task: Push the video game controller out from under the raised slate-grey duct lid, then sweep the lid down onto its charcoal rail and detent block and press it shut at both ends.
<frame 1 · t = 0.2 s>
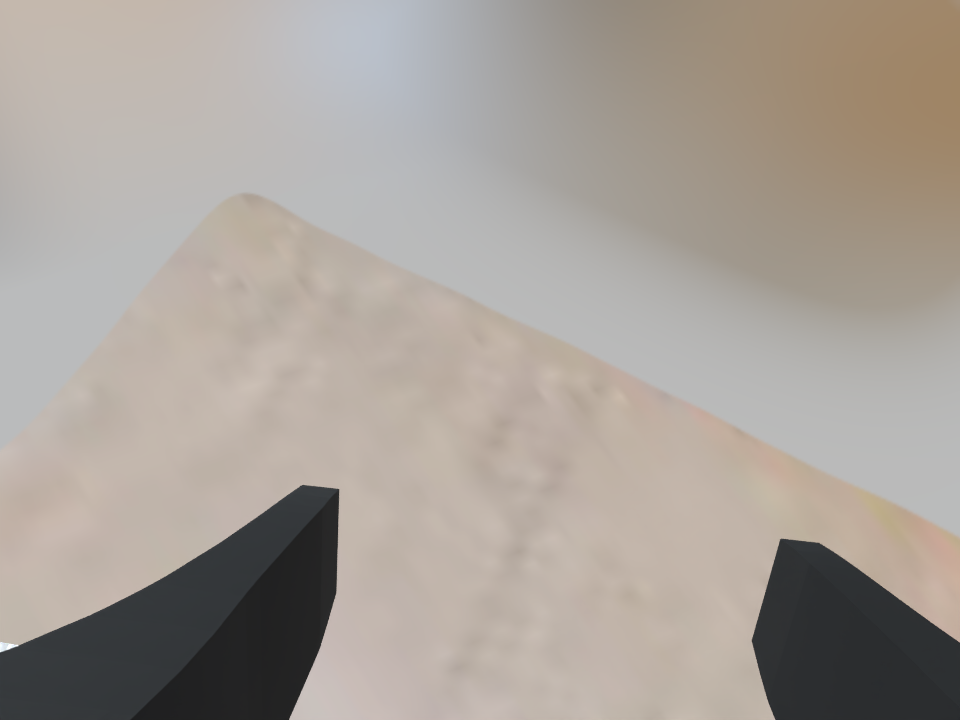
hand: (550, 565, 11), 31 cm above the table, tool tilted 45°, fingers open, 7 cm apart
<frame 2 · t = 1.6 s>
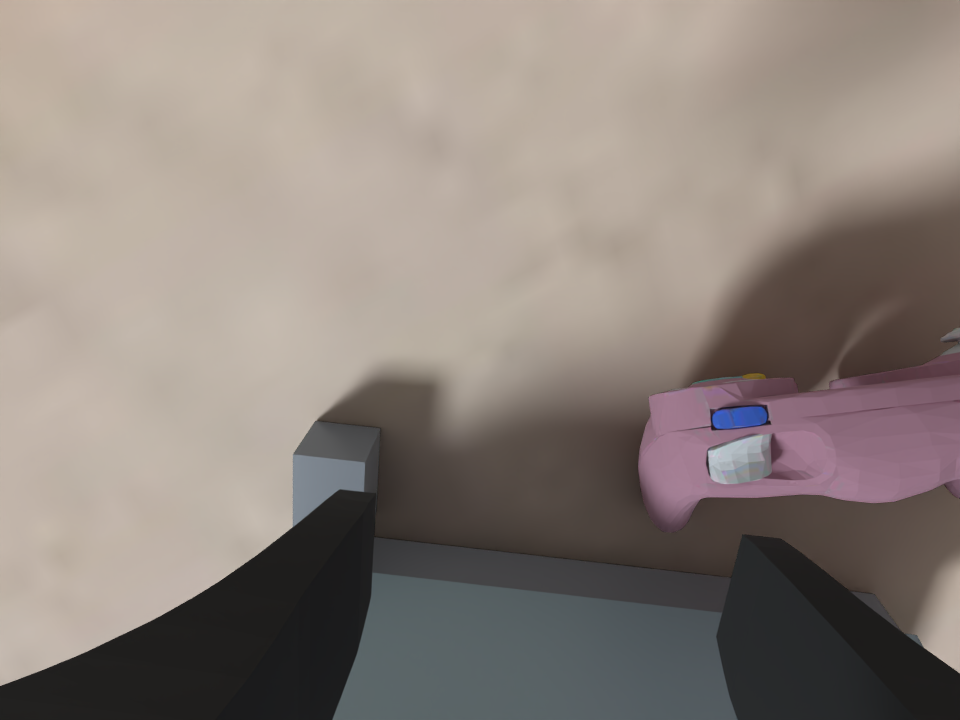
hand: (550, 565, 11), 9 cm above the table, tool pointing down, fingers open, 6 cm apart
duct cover: (607, 703, 18), point 5 cm above the table, hinge at 100.0°
video game controller: (795, 402, 20), on the table
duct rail: (582, 612, 23), on the table
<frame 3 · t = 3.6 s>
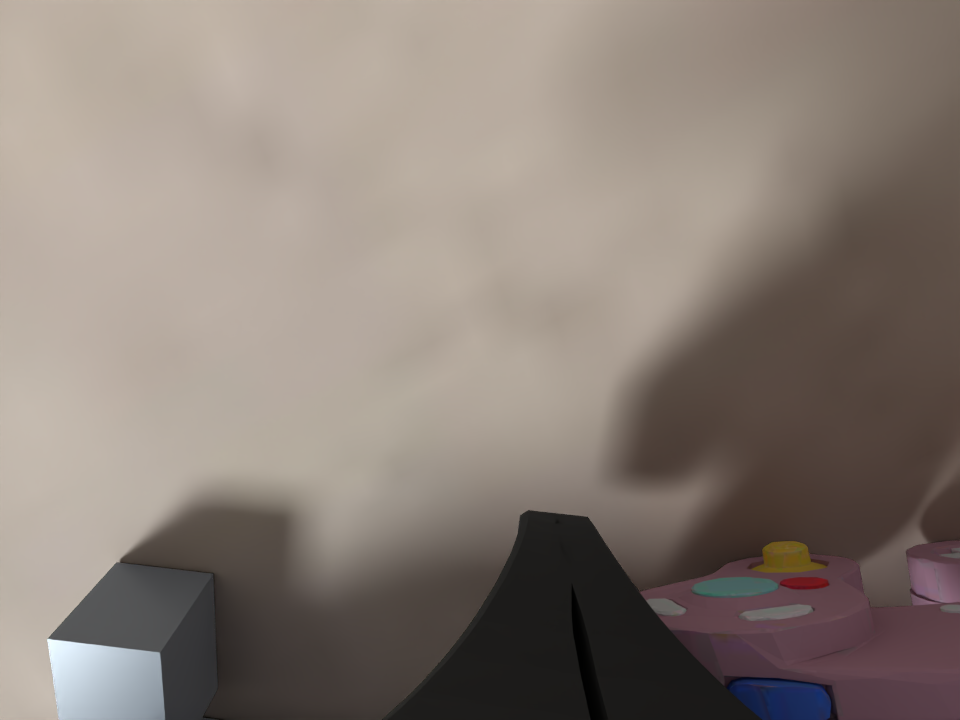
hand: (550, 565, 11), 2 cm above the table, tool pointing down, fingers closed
video game controller: (848, 569, 14), on the table, touching gripper
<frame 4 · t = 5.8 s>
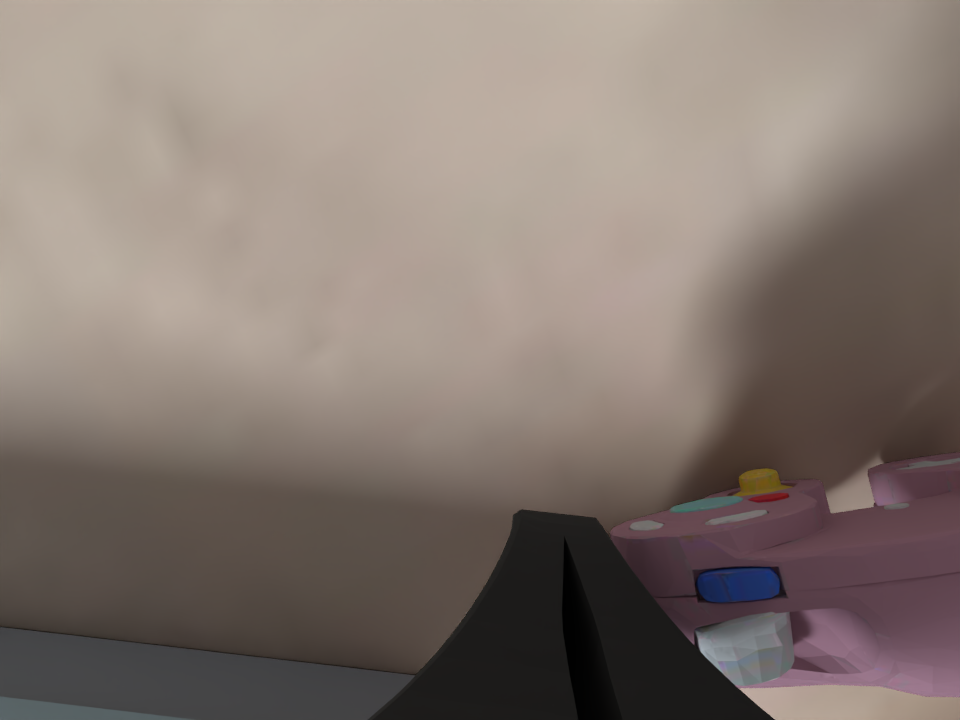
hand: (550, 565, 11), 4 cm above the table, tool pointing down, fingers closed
video game controller: (822, 493, 15), on the table
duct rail: (76, 696, 18), on the table
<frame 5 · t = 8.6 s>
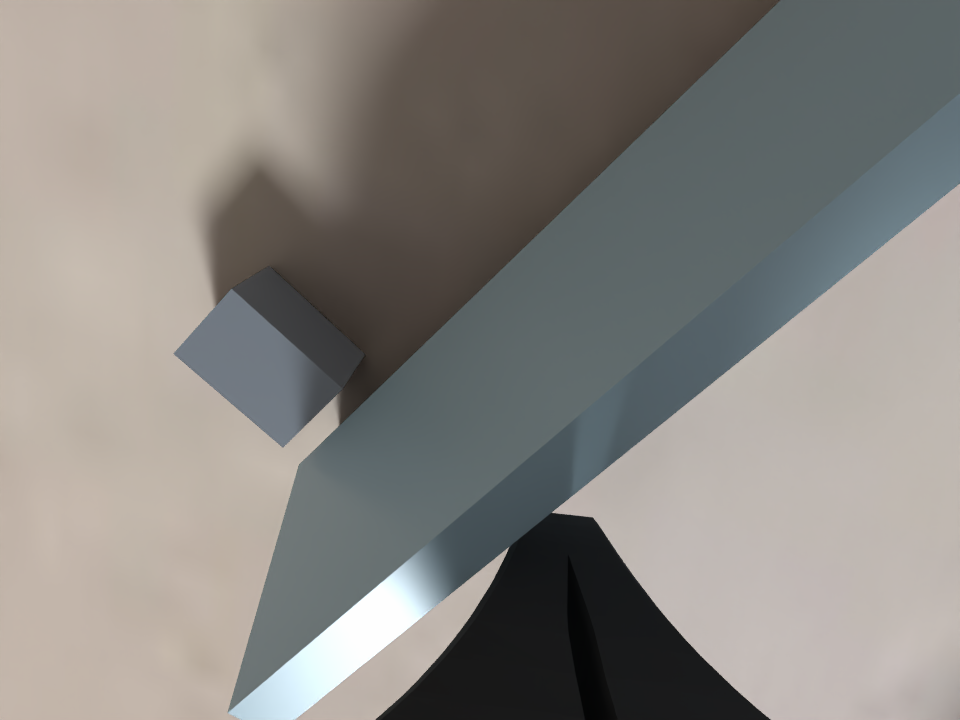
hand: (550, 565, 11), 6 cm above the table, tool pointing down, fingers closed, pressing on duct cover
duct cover: (677, 222, 10), point 5 cm above the table, hinge at 99.9°, touching gripper
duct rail: (672, 235, 15), on the table
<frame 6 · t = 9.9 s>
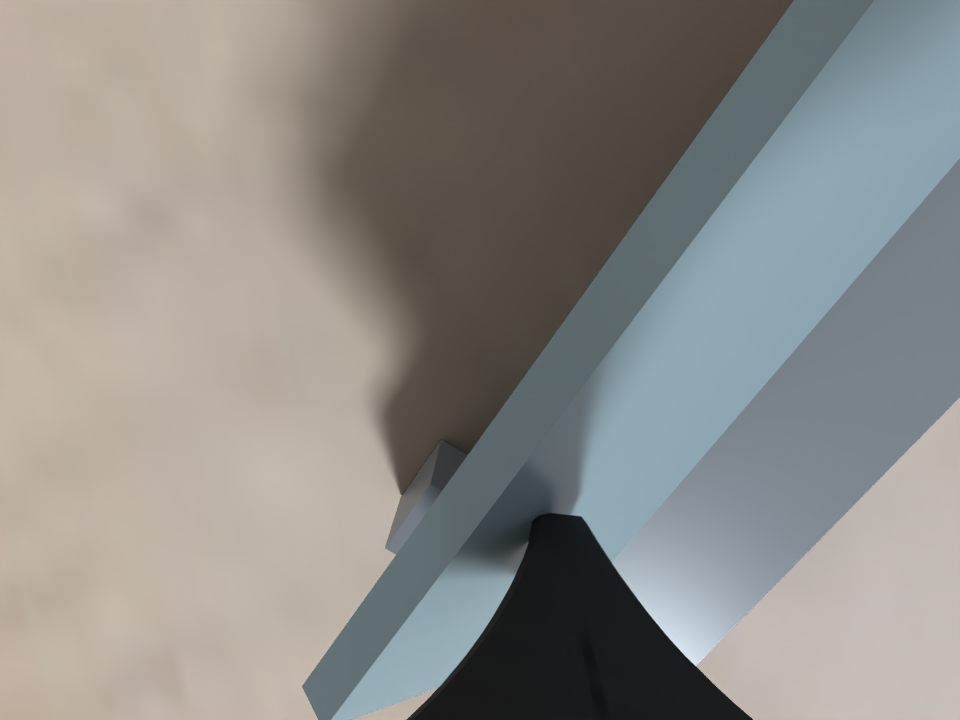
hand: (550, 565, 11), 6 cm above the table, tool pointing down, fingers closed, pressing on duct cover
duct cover: (734, 293, 11), point 5 cm above the table, hinge at 46.1°, touching gripper
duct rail: (820, 340, 16), on the table
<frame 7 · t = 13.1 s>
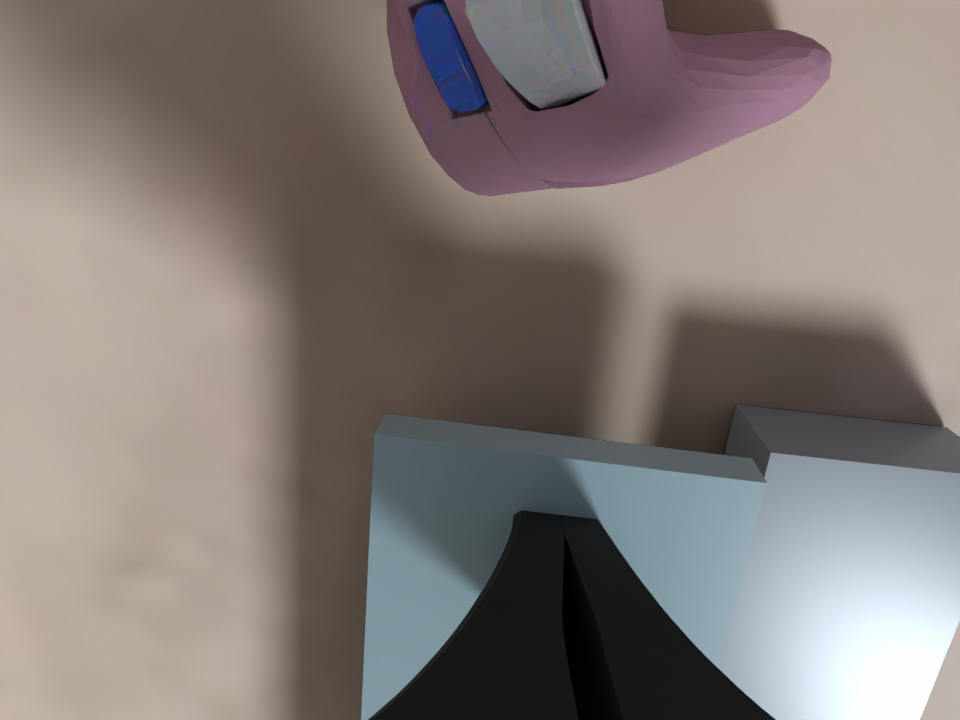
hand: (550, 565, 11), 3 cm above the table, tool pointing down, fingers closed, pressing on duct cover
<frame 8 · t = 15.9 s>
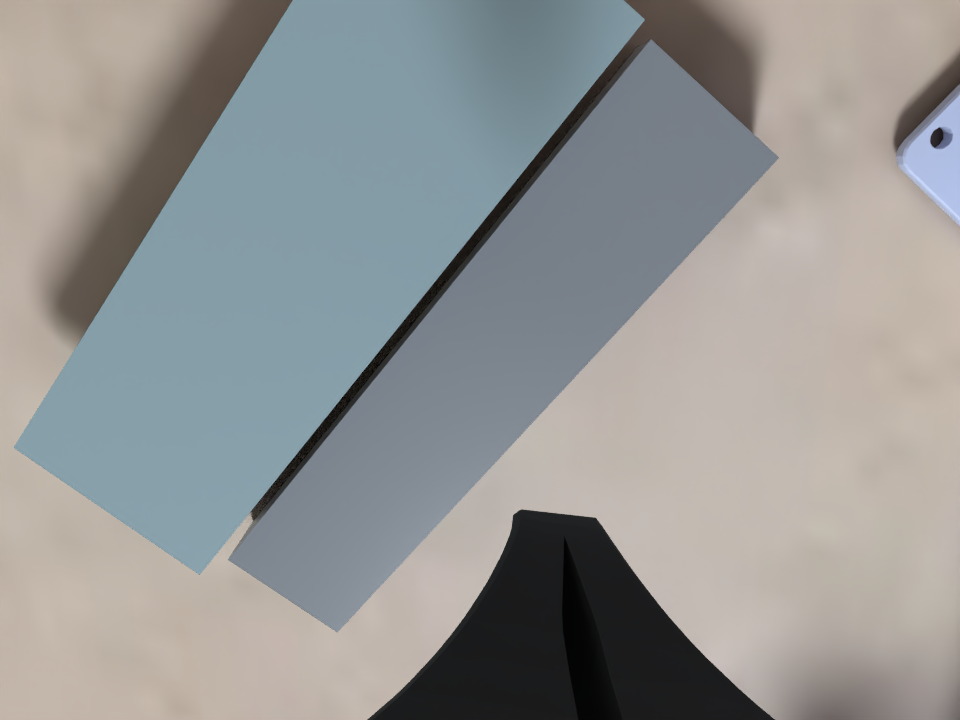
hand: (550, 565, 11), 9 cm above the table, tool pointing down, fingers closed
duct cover: (292, 259, 17), point 3 cm above the table, hinge at -1.6°
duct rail: (473, 358, 20), on the table
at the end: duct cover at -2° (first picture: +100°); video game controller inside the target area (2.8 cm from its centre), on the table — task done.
